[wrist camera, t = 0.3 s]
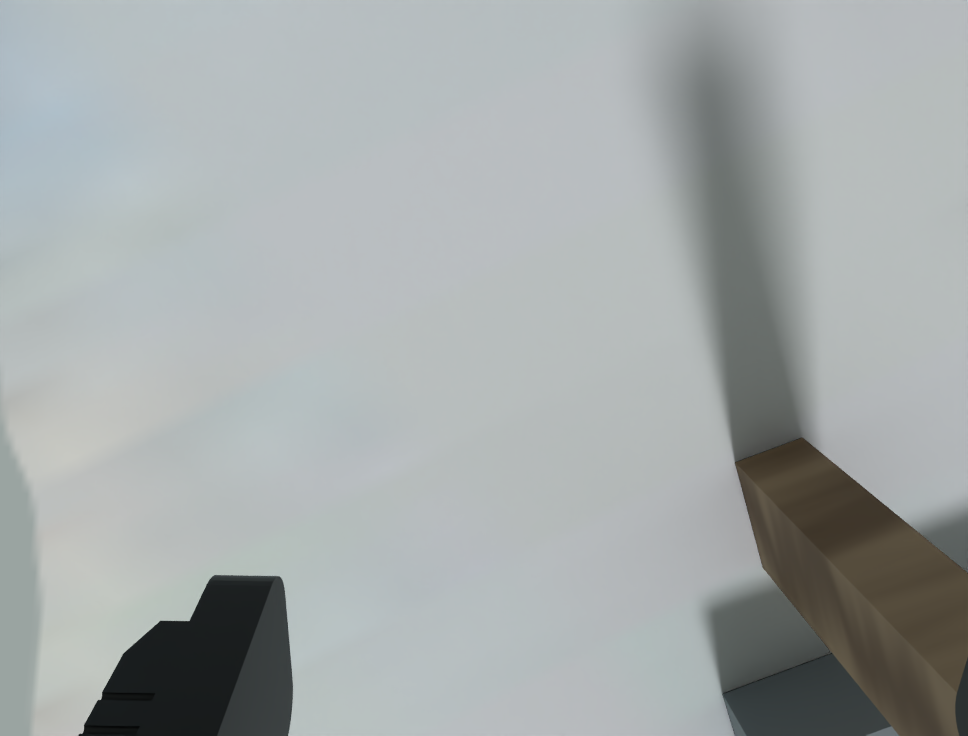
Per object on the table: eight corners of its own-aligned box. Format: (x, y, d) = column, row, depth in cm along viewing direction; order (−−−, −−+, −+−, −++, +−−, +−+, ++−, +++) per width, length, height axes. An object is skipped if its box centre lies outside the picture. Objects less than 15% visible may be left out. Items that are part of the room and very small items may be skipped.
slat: (734, 462, 30) (983, 720, 18) (802, 437, 30) (1096, 678, 18) (763, 567, 32) (1010, 872, 20) (827, 544, 32) (1113, 832, 20)
